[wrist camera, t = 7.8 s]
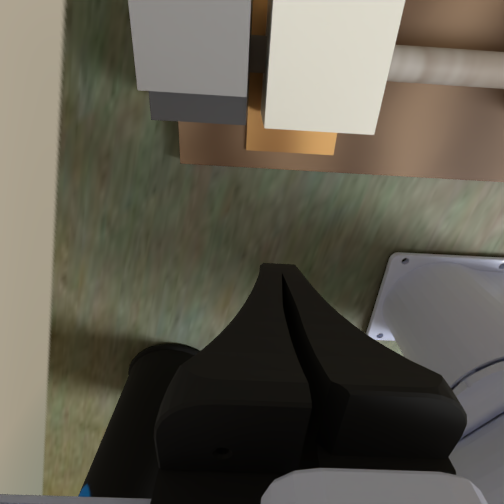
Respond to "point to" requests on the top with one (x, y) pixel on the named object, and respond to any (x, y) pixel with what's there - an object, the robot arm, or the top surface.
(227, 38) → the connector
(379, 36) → the sleeve
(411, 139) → the rail board
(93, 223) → the top surface
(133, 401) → the aerosol can
